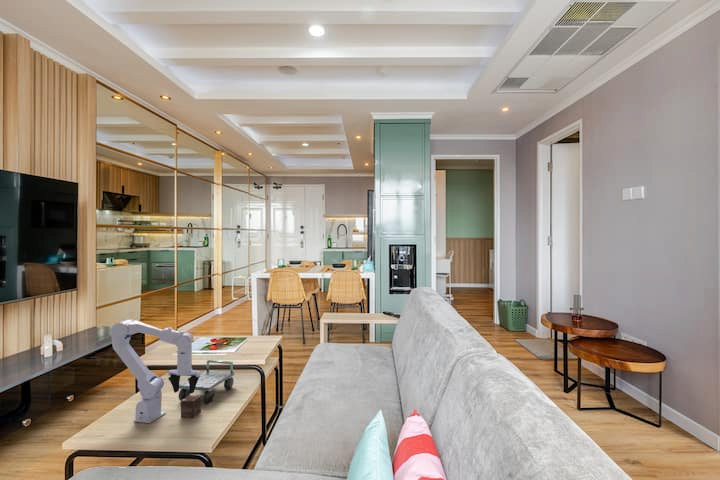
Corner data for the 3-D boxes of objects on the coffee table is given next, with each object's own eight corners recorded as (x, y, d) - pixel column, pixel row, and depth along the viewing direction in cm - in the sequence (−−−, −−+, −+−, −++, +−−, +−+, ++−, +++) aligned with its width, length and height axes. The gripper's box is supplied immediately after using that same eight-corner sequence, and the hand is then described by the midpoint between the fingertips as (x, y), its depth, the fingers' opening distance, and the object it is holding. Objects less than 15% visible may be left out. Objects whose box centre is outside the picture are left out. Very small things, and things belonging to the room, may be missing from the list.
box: (201, 412, 153) (201, 395, 154) (193, 418, 147) (193, 401, 148) (188, 411, 154) (188, 394, 154) (180, 417, 148) (180, 400, 148)
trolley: (207, 405, 160) (208, 376, 160) (177, 402, 163) (178, 373, 163) (234, 386, 182) (234, 361, 183) (207, 384, 185) (208, 359, 186)
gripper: (204, 359, 155) (204, 389, 154) (176, 357, 157) (175, 387, 157) (195, 364, 148) (194, 396, 147) (164, 362, 150) (164, 394, 150)
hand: (184, 392), depth 151 cm, fingers open, 7 cm apart
